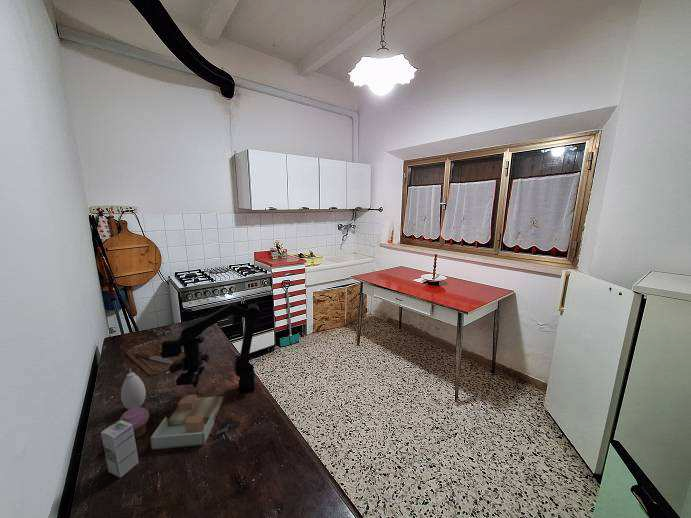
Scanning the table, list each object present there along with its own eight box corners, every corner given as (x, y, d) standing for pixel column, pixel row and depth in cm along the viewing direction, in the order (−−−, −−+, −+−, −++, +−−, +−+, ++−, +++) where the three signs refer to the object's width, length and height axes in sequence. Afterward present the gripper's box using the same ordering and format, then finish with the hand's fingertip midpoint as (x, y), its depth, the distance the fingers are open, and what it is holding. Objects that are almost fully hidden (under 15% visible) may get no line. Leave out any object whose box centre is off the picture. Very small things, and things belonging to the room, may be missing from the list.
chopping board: (208, 357, 151) (208, 351, 151) (153, 380, 130) (152, 374, 129) (173, 335, 177) (173, 331, 177) (122, 352, 156) (122, 347, 155)
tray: (214, 423, 103) (213, 413, 102) (204, 444, 93) (203, 433, 93) (166, 427, 101) (165, 417, 100) (151, 449, 91) (150, 438, 91)
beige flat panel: (223, 401, 115) (222, 396, 114) (213, 422, 103) (212, 416, 103) (183, 404, 113) (182, 399, 113) (168, 426, 101) (167, 420, 101)
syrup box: (139, 462, 87) (133, 422, 84) (119, 479, 81) (112, 437, 79) (127, 457, 89) (121, 418, 86) (106, 473, 83) (99, 432, 81)
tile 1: (197, 401, 111) (196, 394, 111) (192, 409, 106) (191, 402, 106) (184, 402, 111) (183, 395, 110) (178, 410, 106) (177, 403, 105)
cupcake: (127, 450, 91) (123, 424, 90) (115, 439, 95) (111, 414, 94) (155, 431, 99) (152, 407, 97) (143, 422, 103) (140, 399, 101)
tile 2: (202, 416, 99) (198, 422, 96) (204, 427, 100) (200, 434, 97) (189, 416, 99) (184, 422, 96) (190, 428, 100) (185, 434, 97)
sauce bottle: (145, 398, 116) (140, 360, 113) (148, 408, 111) (143, 368, 108) (122, 407, 111) (116, 367, 108) (124, 418, 105) (118, 376, 102)
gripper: (182, 343, 121) (185, 375, 124) (159, 367, 103) (163, 403, 105) (208, 342, 122) (211, 373, 125) (190, 365, 104) (194, 401, 107)
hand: (195, 386), depth 115 cm, fingers closed
